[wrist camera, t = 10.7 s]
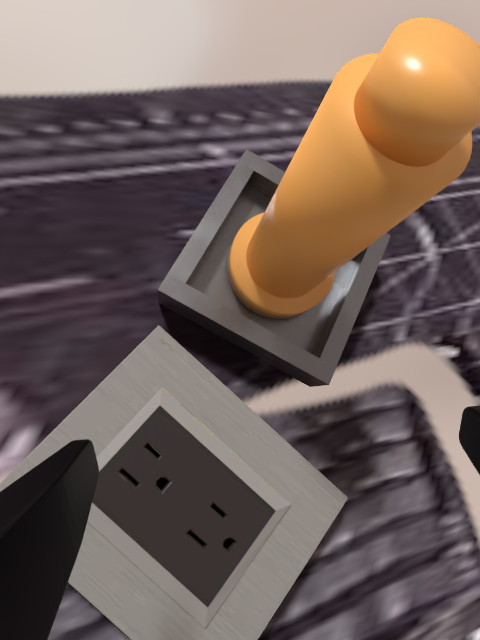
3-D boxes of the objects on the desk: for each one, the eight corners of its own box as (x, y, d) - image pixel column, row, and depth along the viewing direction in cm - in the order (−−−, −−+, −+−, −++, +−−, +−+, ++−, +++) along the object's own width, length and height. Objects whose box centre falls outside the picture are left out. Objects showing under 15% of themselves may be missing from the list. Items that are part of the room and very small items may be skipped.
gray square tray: (309, 386, 20) (329, 384, 18) (158, 303, 20) (157, 289, 17) (367, 252, 23) (390, 235, 21) (238, 175, 23) (246, 149, 20)
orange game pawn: (329, 318, 21) (578, 191, 8) (229, 320, 19) (345, 172, 7) (317, 225, 22) (518, -7, 9) (223, 221, 21) (311, -54, 8)
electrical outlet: (330, 488, 20) (351, 499, 17) (205, 675, 17) (212, 719, 14) (159, 333, 20) (158, 324, 17) (2, 491, 17) (-24, 505, 14)
